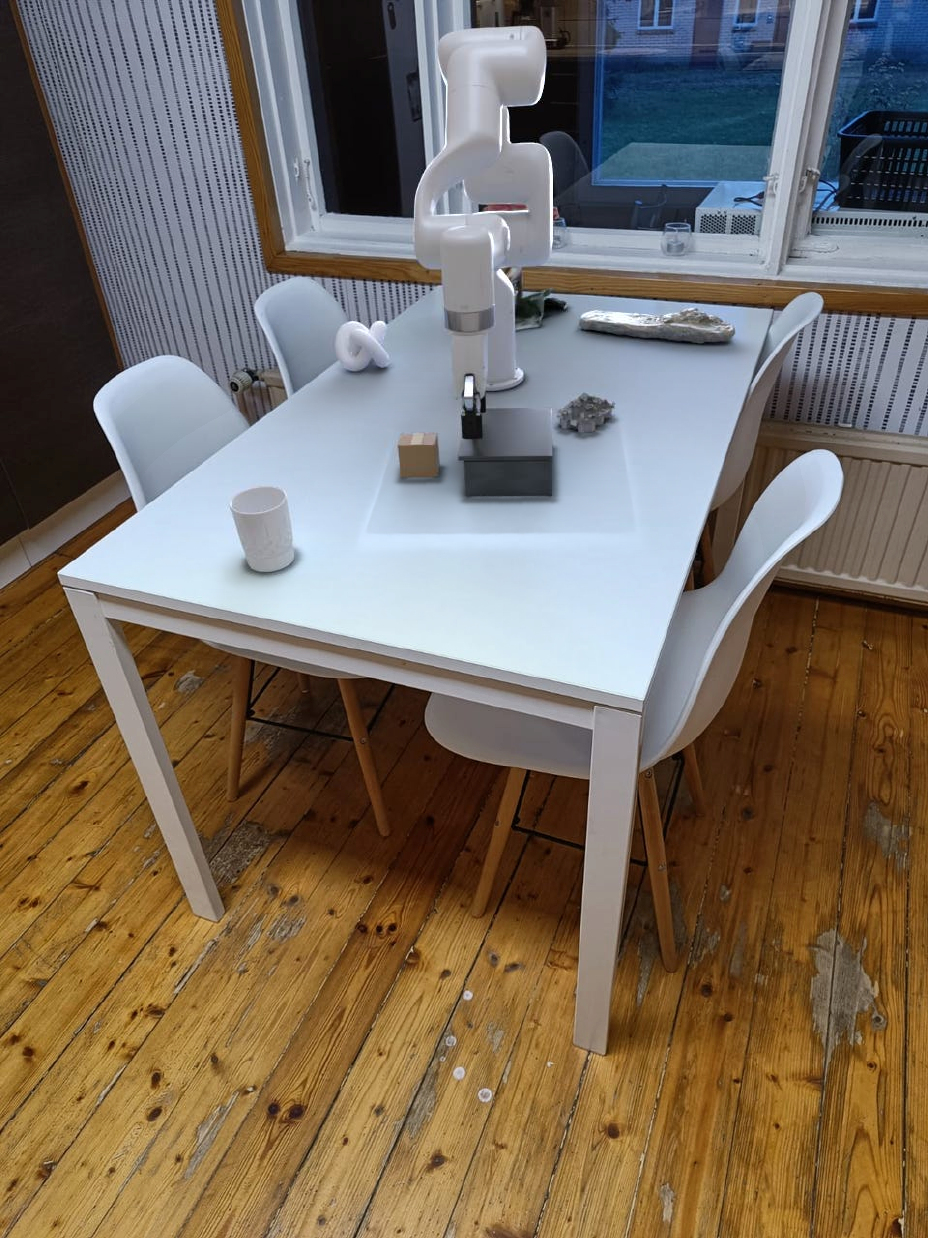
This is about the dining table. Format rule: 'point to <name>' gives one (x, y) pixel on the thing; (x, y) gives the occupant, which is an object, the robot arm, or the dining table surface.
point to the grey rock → (585, 413)
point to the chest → (508, 478)
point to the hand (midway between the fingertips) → (474, 424)
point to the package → (418, 455)
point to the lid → (511, 436)
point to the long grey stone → (661, 325)
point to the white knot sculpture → (361, 345)
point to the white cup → (264, 527)
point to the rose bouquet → (525, 306)
